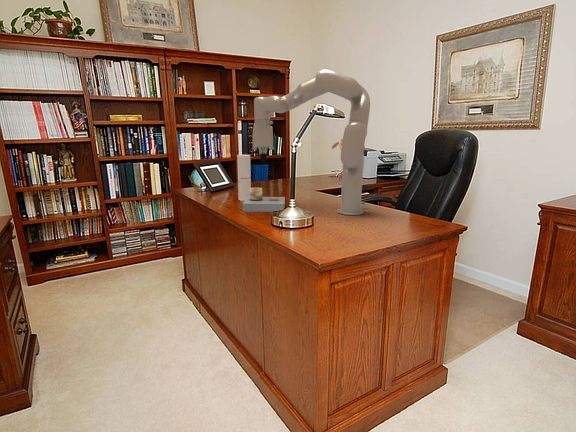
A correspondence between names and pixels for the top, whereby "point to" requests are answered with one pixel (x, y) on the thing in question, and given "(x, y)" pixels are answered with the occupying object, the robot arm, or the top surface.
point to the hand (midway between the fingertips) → (263, 161)
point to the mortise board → (264, 204)
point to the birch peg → (256, 194)
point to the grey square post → (243, 176)
